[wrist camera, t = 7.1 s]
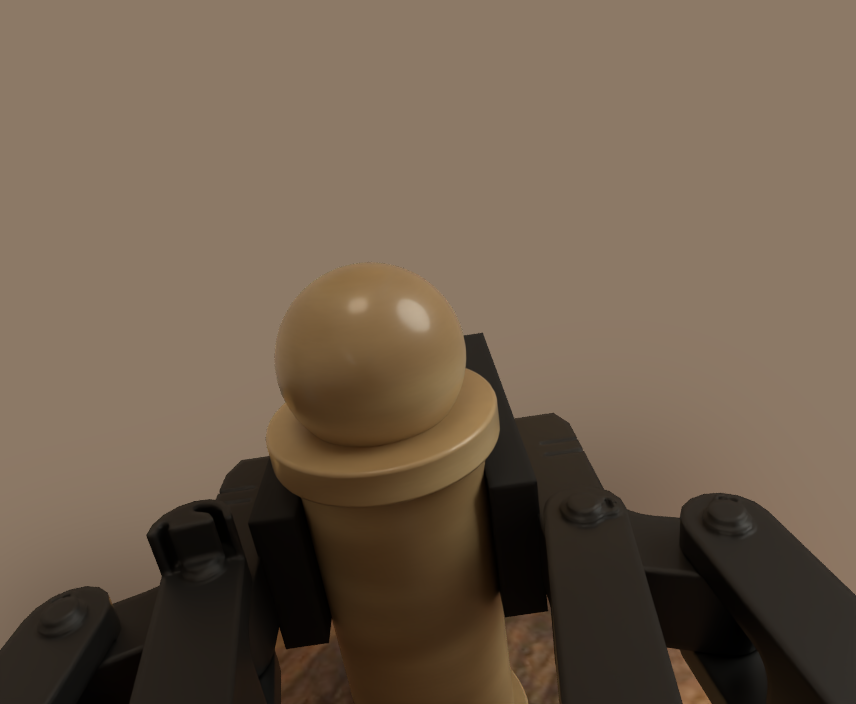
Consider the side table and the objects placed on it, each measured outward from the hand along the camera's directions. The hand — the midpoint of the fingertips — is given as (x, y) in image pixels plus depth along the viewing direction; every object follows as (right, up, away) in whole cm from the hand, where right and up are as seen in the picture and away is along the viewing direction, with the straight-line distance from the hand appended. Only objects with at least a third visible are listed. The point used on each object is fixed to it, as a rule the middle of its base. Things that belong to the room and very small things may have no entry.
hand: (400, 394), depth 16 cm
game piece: (+1, -8, -3) cm, 8 cm away
